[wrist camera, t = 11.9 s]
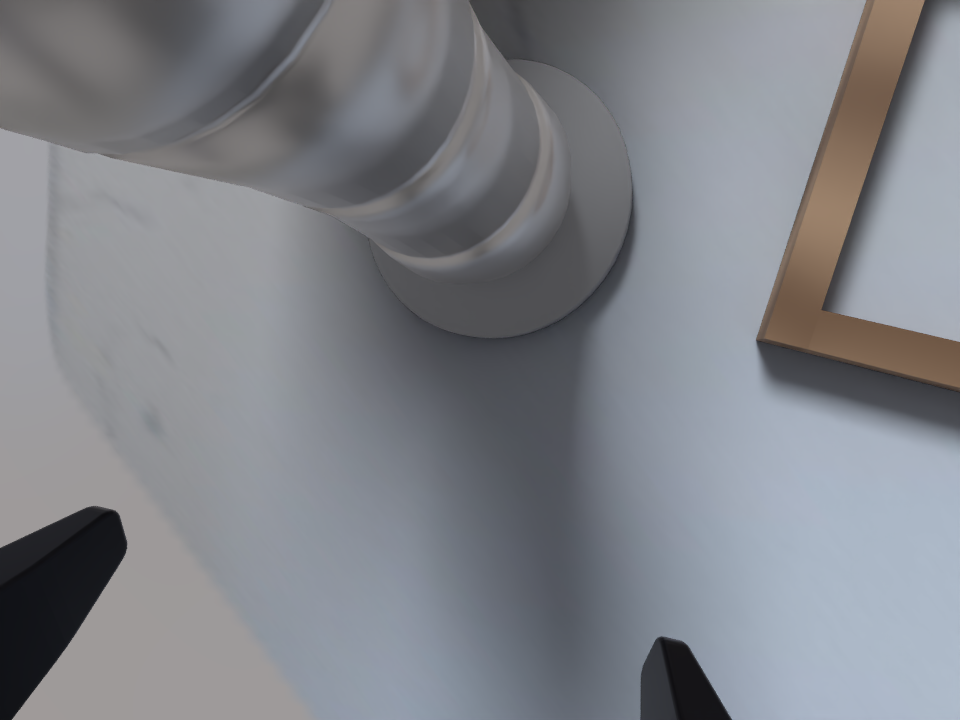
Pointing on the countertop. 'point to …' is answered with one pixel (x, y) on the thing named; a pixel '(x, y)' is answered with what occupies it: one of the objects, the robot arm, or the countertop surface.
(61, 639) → the robot arm
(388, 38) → the plastic bottle
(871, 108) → the walnut collar
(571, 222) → the slate coaster
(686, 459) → the countertop surface
